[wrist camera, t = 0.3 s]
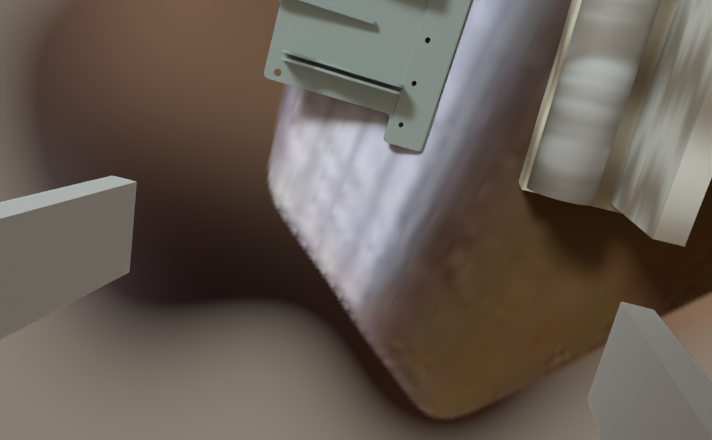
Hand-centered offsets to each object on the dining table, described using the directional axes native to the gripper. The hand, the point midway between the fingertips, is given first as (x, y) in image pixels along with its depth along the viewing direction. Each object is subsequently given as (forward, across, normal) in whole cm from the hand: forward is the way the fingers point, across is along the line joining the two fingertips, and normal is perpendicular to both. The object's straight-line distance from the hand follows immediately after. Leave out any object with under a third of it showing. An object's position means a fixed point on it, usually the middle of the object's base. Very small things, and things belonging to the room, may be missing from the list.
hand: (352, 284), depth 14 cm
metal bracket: (+28, -6, +8) cm, 30 cm away
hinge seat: (+27, +10, +8) cm, 30 cm away
